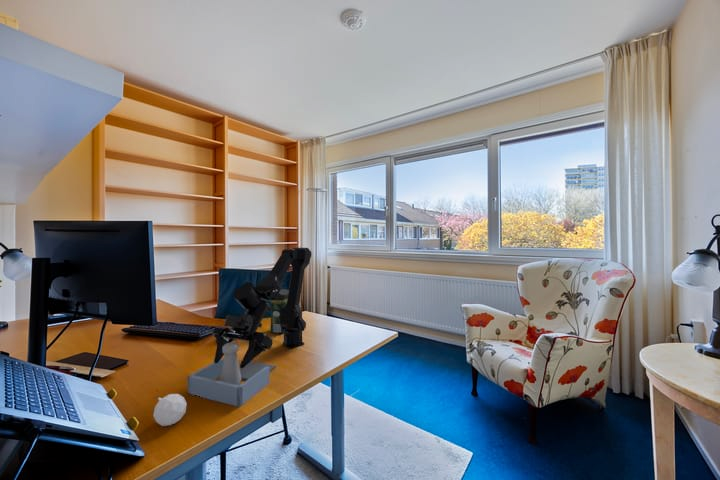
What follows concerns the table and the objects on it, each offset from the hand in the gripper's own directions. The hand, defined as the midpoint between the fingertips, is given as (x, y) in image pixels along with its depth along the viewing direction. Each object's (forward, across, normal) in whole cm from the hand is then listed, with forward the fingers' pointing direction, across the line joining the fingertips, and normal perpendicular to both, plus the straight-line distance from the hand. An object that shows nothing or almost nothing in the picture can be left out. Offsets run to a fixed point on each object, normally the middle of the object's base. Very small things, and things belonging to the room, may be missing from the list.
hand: (227, 365), depth 84 cm
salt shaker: (+4, 0, +6) cm, 7 cm away
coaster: (-3, 0, +13) cm, 13 cm away
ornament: (+16, -2, -6) cm, 18 cm away
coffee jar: (-28, -14, +38) cm, 50 cm away
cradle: (+4, 0, +6) cm, 7 cm away
